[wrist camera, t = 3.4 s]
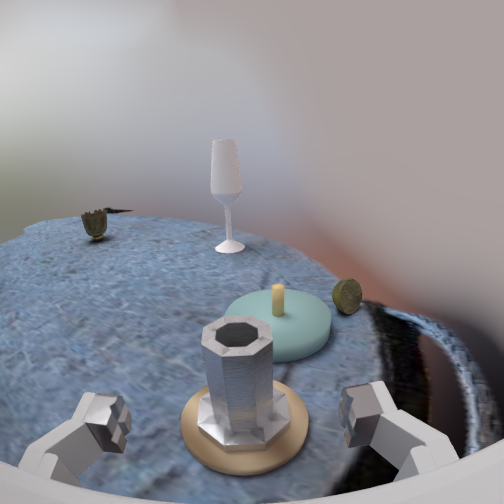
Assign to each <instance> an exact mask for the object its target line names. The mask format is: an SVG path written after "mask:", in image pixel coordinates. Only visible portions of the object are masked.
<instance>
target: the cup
mask: <svg viewBox="0 0 504 504" xmlns="http://www.w3.org/2000/svg"><path fill="white" fill-rule="evenodd" d="M81 218H82V221H83V224H84V228H85V230H86V232H87V234H88V235H90V236H92V240H93V241H101V240H103V239H104V235H103V233H105V231H106V229H107V214H106V210H105V211H104V210H103V211H102V210H100V209H99V210H98V211H97V210H95V211H94V214H93V213H92V214H91V213H90V212H89V213H87V212H85V215H84V214H82V215H81Z"/></svg>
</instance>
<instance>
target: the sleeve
mask: <svg viewBox="0 0 504 504" xmlns="http://www.w3.org/2000/svg"><path fill="white" fill-rule="evenodd" d="M201 346H202V352H203V358H204V364H205V370H206V376H207V382H208V387H209V392H208V393H207V394H205V395H204V396H202V397H201V398H200V403H199V413H198V423H197V425H198V429H199V432H200V433H201V434H202V435H204V436H205V437H206V438H207V439H209V440H210V441H211V442H212V443H214V444H215V445H216V446H218V447H219V448H220V449H221V450H223V451H224V452H225V453H226V452H253V451H266V450H267V449H268V448H269V447H270V446H271V445H272V444H273V443H274V442H276V441H277V440H278V439H279V438H280V437H281V436H282V435H283V434H284V433H285V432H286V431H287V430H288V429H289V428H290V421H291V420H290V414H289V408H288V403H287V397H286V394H285V393H283V392H281V391H280V390H278V389H276V388H274V387H273V338H272V332H271V326H270V324H269V323H266V322H264V321H262V320H260V319H257V318H255V317H253V316H251V315H242V316H224V317H222V318H220V319H218V320H216V321H214V322H213V323H211V324H209V325H207V326H205V327H204V328H203V335H202V342H201Z"/></svg>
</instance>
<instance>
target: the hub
mask: <svg viewBox="0 0 504 504" xmlns="http://www.w3.org/2000/svg"><path fill="white" fill-rule="evenodd" d="M242 315H251V316H253V317H255V318H257V319H260V320H262V321H264V322H266V323H269V324H270V326H271V332H272V338H273V362H290V361H295V360H300V359H303V358H306V357H308V356H310V355H312V354H314V353H316V352H317V351H319V350H320V349H321V348H322V347H323V346H324V345H325V344H326V342H327V341H328V338H329V334H330V325H331V312H330V309H329V308H328V306H327V305H326V304H325V303H324V302H323V301H322V300H320V299H319V298H317V297H315V296H313V295H311V294H308V293H305V292H301V291H297V290H290V289H284V285H282V284H274V285H273V286H272V289H268V290H261V291H257V292H253V293H250V294H247V295H244V296H242V297H240V298H239V299H237V300H235V301H234V302H233V303H232V304H231V305H230V306H229V307H228V309H227V311H226V313H225V316H242Z"/></svg>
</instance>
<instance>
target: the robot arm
mask: <svg viewBox="0 0 504 504" xmlns="http://www.w3.org/2000/svg"><path fill="white" fill-rule="evenodd" d="M341 395H342V398H343V400H342V401H341V402H340V405H339V418H340V422H341V426H343V427H344V428H345V433H344V436H345V439H346V442H347V446H348V448H352V447H358V446H363V445H369V444H370V446H371V447H372V448H374V449H375V450H376V451H377V452H378V453H380V454H381V455H382V456H383V457H384V458H385V459H387V460H388V461H389V462H390V463H391V464H393V465H394V466H395V467H396V468H398V469H399V470H400V471H399V473H398V474H397V476H396V478H395V479H394V481H393V482H392V483H389V484H385V485H381V486H377V487H373V488H369V489H364V490H360V491H355V492H350V493H345V494H340V495H335V496H329V497H323V498H316V499H309V500H301V501H292V502H281V503H268V504H504V439H503V440H501V441H499V442H497V443H495V444H493V445H491V446H489V447H486V448H484V449H482V450H480V451H478V452H476V453H473V454H471V455H469V456H466V457H464V458H462V459H459V457H458V456H457V454H456V452H455V450H454V448H453V446H452V444H451V443H450V440H449V439H448V437H447V436H446V435H444V434H443V433H441V432H439V431H437V430H435V429H434V428H432V427H430V426H428V425H427V424H425V423H423V422H421V421H420V420H418V419H416V418H415V417H413V416H411V415H409V414H408V413H406V412H404V411H403V410H397V408H396V406H395V404H394V402H393V400H392V398H391V396H390V394H389V392H388V390H387V388H386V386H385V384H384V382H383V381H377V382H372V383H366V384H361V385H355V386H349V387H343V389H342V393H341ZM124 403H125V402H124V399H123V397H122V396H118V395H109V394H101V393H92V392H86V393H84V394H83V396H82V398H81V400H80V402H79V405H78V407H77V409H76V411H75V413H74V415H73V417H72V419H71V420H67V421H65V422H64V423H62V424H61V425H59V426H58V427H56V428H55V429H53V430H52V431H50V432H49V433H47V434H46V435H44V436H43V437H41V438H40V439H38V440H37V441H35V442H34V443H32V444H30V445H29V446H28V447H27V449H26V451H25V453H24V455H23V457H22V459H21V461H20V463H19V465H18V468H17V467H14V466H12V465H9V464H7V463H4V462H2V461H0V504H184V503H171V502H161V501H152V500H144V499H137V498H131V497H124V496H119V495H113V494H108V493H103V492H98V491H94V490H89V489H85V488H84V487H83V486H82V485H81V484H80V483H79V481H78V480H77V478H78V477H79V476H80V475H81V474H82V473H83V472H84V471H85V470H86V469H87V468H88V467H89V466H90V465H91V464H92V463H94V462H95V461H96V460H97V459H98V458H99V457H100V456H101V455H102V454H103V453H104V452H112V453H120V454H123V452H124V449H125V445H126V442H127V440H126V438H125V435H127V434H128V433H129V432H130V429H131V416H130V413H129V410H128V409H126V408H125V407H124ZM103 451H104V452H103Z"/></svg>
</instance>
